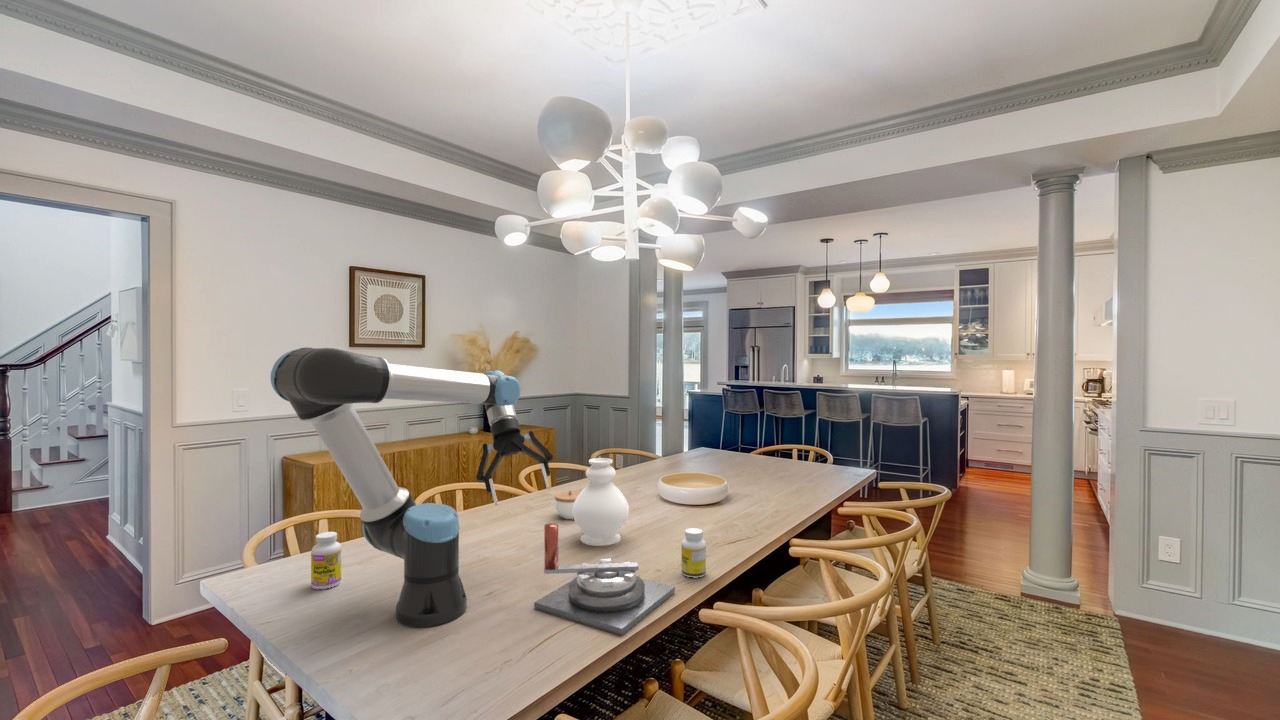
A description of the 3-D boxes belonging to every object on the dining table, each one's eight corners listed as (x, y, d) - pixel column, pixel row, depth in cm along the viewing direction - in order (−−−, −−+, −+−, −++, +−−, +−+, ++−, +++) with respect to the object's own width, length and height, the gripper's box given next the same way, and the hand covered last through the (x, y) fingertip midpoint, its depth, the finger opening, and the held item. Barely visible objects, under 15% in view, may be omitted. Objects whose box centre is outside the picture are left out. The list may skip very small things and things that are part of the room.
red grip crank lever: (635, 571, 140) (635, 514, 140) (640, 595, 126) (640, 532, 126) (546, 574, 138) (546, 516, 138) (542, 599, 124) (541, 535, 124)
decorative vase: (635, 532, 182) (635, 456, 182) (618, 551, 165) (618, 467, 164) (584, 528, 187) (584, 453, 186) (563, 546, 170) (563, 464, 169)
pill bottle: (682, 568, 152) (682, 526, 152) (706, 570, 151) (706, 527, 151) (680, 578, 146) (680, 533, 145) (705, 579, 145) (705, 535, 144)
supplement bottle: (307, 591, 137) (307, 540, 137) (315, 581, 144) (315, 531, 143) (337, 588, 139) (337, 537, 139) (344, 578, 145) (344, 529, 145)
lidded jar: (549, 519, 197) (549, 492, 197) (564, 511, 207) (564, 486, 207) (575, 522, 193) (575, 495, 192) (590, 514, 202) (590, 488, 202)
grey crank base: (622, 635, 116) (622, 618, 116) (534, 608, 128) (534, 592, 128) (674, 593, 137) (674, 578, 137) (594, 573, 149) (594, 559, 149)
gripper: (548, 416, 160) (569, 485, 150) (459, 440, 153) (475, 514, 144) (548, 405, 153) (569, 477, 144) (455, 430, 147) (471, 507, 137)
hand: (522, 496), depth 144 cm, fingers open, 13 cm apart
